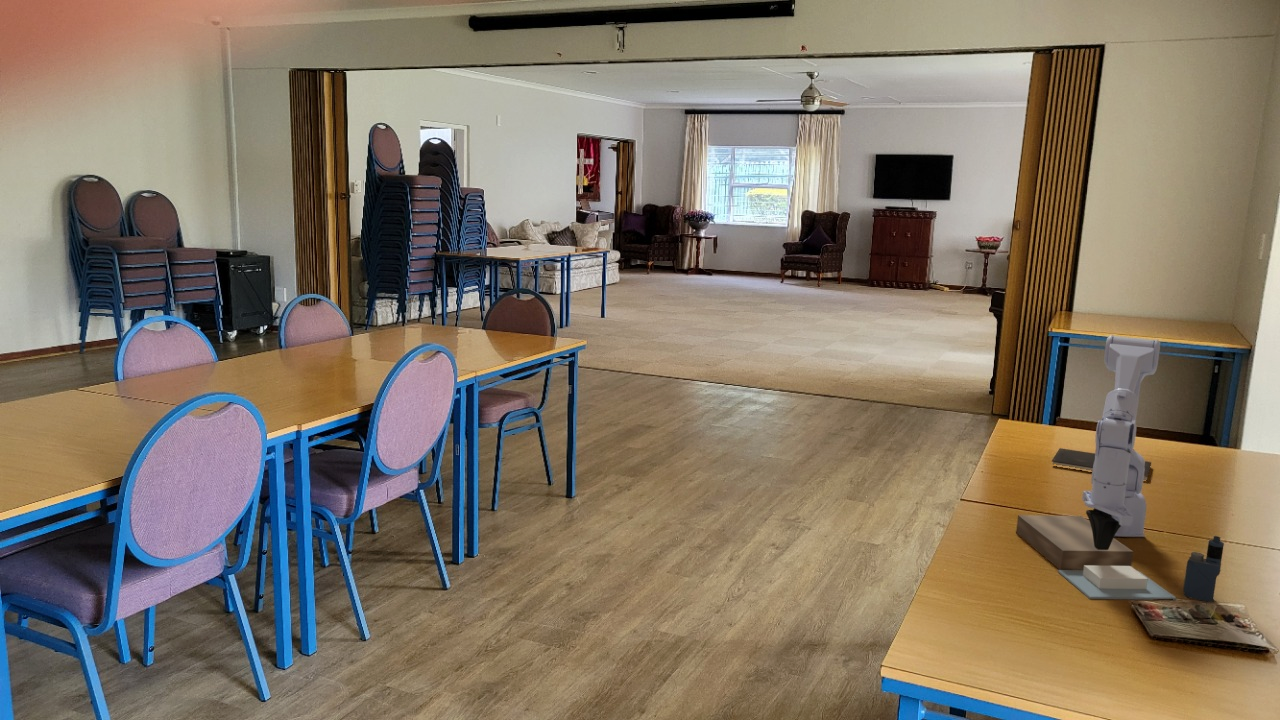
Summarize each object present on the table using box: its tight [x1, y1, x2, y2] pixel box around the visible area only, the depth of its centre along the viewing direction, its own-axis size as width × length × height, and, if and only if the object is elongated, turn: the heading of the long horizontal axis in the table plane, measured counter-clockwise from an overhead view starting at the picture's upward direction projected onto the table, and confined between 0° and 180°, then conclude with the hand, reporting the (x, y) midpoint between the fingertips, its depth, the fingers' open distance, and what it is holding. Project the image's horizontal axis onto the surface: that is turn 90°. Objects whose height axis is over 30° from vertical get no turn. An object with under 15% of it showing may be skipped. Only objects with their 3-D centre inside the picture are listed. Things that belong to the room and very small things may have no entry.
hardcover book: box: [1051, 447, 1152, 481], centre depth 254 cm, size 16×23×2 cm
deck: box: [1015, 514, 1134, 570], centre depth 193 cm, size 14×20×4 cm
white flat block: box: [1083, 565, 1149, 589], centre depth 177 cm, size 9×6×2 cm, turn 92°
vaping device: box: [1182, 535, 1225, 603], centre depth 171 cm, size 3×5×12 cm, turn 58°
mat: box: [1057, 569, 1177, 601], centre depth 176 cm, size 16×12×1 cm
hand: (1101, 548), depth 181 cm, fingers closed
